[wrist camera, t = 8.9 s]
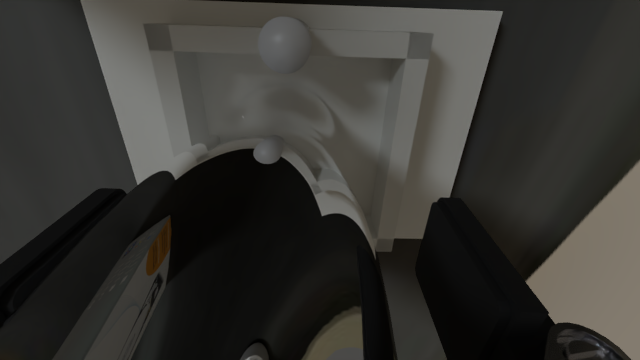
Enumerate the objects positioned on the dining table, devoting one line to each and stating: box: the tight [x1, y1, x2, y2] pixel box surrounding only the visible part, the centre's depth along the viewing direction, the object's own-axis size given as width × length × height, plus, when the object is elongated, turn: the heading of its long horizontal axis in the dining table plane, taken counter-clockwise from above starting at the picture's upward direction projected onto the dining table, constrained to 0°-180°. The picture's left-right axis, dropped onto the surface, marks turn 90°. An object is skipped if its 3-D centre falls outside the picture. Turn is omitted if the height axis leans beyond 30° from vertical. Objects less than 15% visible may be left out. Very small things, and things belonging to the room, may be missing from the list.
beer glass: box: [0, 85, 398, 360], centre depth 10 cm, size 7×7×15 cm
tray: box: [80, 0, 503, 252], centre depth 15 cm, size 20×14×6 cm
